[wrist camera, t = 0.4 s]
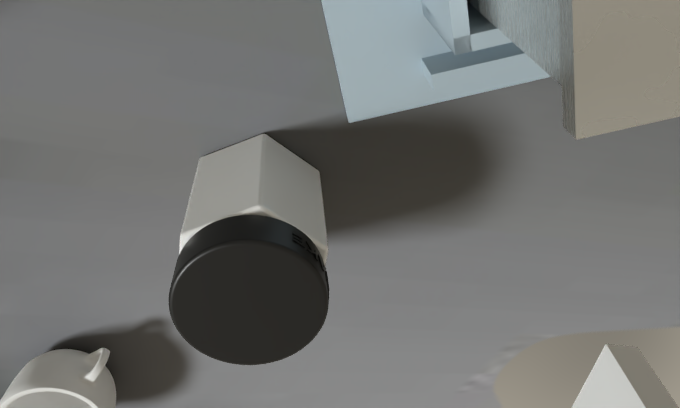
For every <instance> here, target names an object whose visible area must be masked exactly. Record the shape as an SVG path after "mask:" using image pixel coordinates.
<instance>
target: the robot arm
mask: <svg viewBox="0 0 680 408" xmlns="http://www.w3.org/2000/svg"><path fill="white" fill-rule="evenodd" d="M572 408H679V407H678V406H677V404H676V403H675V401H674V400H673V398H672V397H671V396H670V394H669V393H668V391H667V390H666V388H665V387H664V385H663V384H662V382H661V381H660V379H659V378H658V377H657V375H656V374H655V372H654V371H653V369H652V368H651V366H650V365H649V363H648V362H647V360H646V359H645V357H644V356H643V355H642V353H641V351H640V350H639V349H638V347H633V346H623V345H613V344H606V345H605V347H604V348H603V350H602V352H601V354H600V356H599V358H598V359H597V362H596V364H595V365H594V367H593V369H592V371H591V373H590V374H589V376H588V378H587V380H586V382H585V384H584V386H583V387H582V389H581V391H580V393H579V395H578V397H577V399H576V400H575V402H574V404H573V406H572Z"/></svg>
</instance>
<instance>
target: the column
mask: <svg viewBox="0 0 680 408" xmlns="http://www.w3.org/2000/svg"><path fill="white" fill-rule="evenodd" d="M467 1H468V2H469V3H470V4H471V5H472V6H473V7H474V8H475V9H476V10H478V11H479V12H480V13H481V14H482V15H483V16H484V17H485V18H486V19H488V20H489V21H490V22H491V23H492V24H493V25H494V26H495V27H496V28H497V29H499V30H500V31H501V32H502V33H503V34H504V35H505V36H506V37H507V38H509V39H510V40H511V41H512V42H513V43H514V44H515V45H516V46H517V47H519V48H520V49H521V50H522V51H523V52H524V53H525V54H526V55H527V56H529V57H530V58H531V59H532V60H533V61H534V62H535V63H536V64H537V65H539V66H540V67H541V68H542V69H543V70H544V71H545V72H546V73H547V74H549V75H550V76H551V77H552V78H553V79H554V80H555V81H556V82H557V83H559V84H560V85H561V86H562V109H563V127H564V128H565V129H566V130H567V131H568V132H569V133H570V134H571V135H572V136H573V137H574V138H575V139H576V140H577V139H582V138H586V137H591V136H595V135H599V134H604V133H608V132H613V131H617V130H622V129H626V128H630V127H635V126H639V125H644V124H648V123H653V122H657V121H661V120H666V119H670V118H675V117H679V116H680V0H467Z"/></svg>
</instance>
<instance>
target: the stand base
mask: <svg viewBox="0 0 680 408" xmlns="http://www.w3.org/2000/svg"><path fill="white" fill-rule="evenodd" d="M321 1H322V6H323V10H324V15H325V19H326V24H327V28H328V33H329V37H330V42H331V46H332V51H333V55H334V60H335V64H336V69H337V73H338V77H339V82H340V86H341V91H342V95H343V100H344V104H345V109H346V113H347V118H348V122H349V123H352V122H356V121H360V120H365V119H369V118H373V117H378V116H382V115H386V114H391V113H395V112H400V111H404V110H408V109H413V108H417V107H421V106H426V105H430V104H434V103H439V102H443V101H447V100H452V99H456V98H460V97H465V96H469V95H474V94H478V93H482V92H487V91H491V90H495V89H500V88H504V87H508V86H513V85H517V84H521V83H526V82H530V81H534V80H539V79H543V78H548V77H551V76H550V75H549V74H547V73H546V72H545V71H544V70H543V69H542V68H541V67H540V66H539V65H537V64H536V63H535V62H534V61H533V60H532V59H531V58H530V57H529V56H527V55H526V54H525V53H524V52H523V51H522V50H521V49H520V48H519V47H517V46H516V45H515V44H514V43H513V42H512V41H511V40H510V39H509V38H507V37H506V36H505V35H504V34H503V33H502V32H501V31H500V30H499V29H497V28H496V27H495V26H494V25H493V24H492V23H491V22H490V21H489V20H488V19H486V18H485V17H484V16H483V15H482V14H481V13H480V12H479V11H478V10H476V9H475V8H474V7H473V6H472V5H471V4H470V3H469V2H468V1H467V0H321Z"/></svg>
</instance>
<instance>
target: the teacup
mask: <svg viewBox="0 0 680 408" xmlns="http://www.w3.org/2000/svg"><path fill="white" fill-rule="evenodd" d="M109 355H110V351H109V350H108V349H106V348H100V349H98V350H96V351H94V352H93V353H90V354H88V353H86V352H83V351H79V350H73V349H59V350H53V351H49V352H46V353H43V354H41V355H39V356H37V357H35V358H34V359H32V360H31V361H29V362H28V363H27V364H26V365H25V366H24V367H23V369H22V370H21V371H20V372H19V373H18V375H17V376H16V377H15V379H14V380H13V381H12V383H11V384H10V386H9V387H8V389H7V391H6V392H5V394H4V396H3V397H2V399H1V400H0V408H115V406H116V388H115V383H114V380H113V377H112V375H111V373H110V371H109V370H108V368H107V367H106V366H105V365H106V363H107V361H108V358H109Z"/></svg>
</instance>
